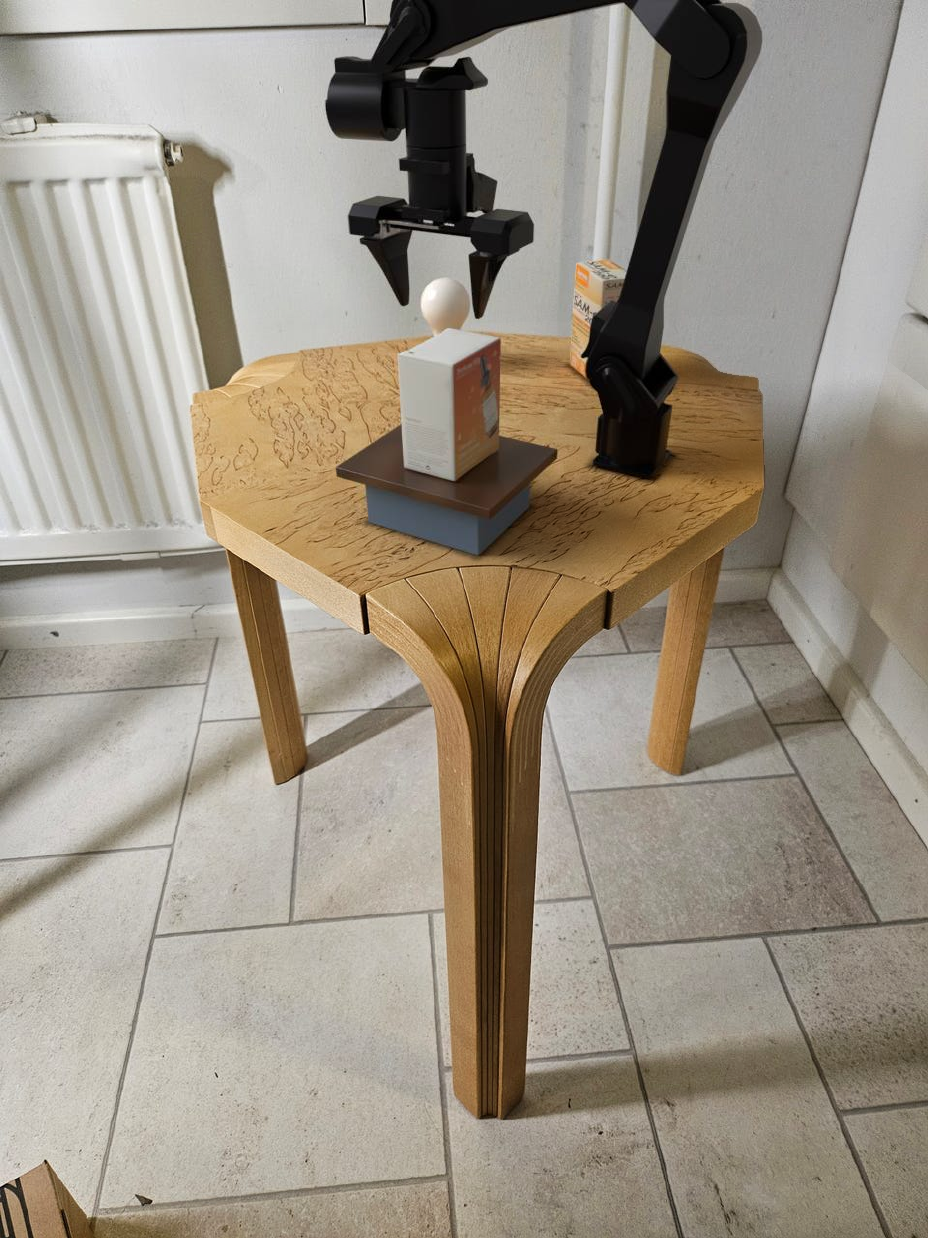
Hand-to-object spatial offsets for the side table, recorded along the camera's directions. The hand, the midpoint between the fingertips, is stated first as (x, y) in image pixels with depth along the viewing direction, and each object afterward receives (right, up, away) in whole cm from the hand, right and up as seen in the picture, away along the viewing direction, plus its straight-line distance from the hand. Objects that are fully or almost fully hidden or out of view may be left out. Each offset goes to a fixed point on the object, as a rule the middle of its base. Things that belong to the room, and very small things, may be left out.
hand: (441, 311), depth 90 cm
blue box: (+1, -23, -8) cm, 24 cm away
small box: (+1, -18, -12) cm, 22 cm away
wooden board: (+1, -19, -11) cm, 22 cm away
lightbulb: (0, +1, +24) cm, 24 cm away
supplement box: (+20, -1, +20) cm, 28 cm away
